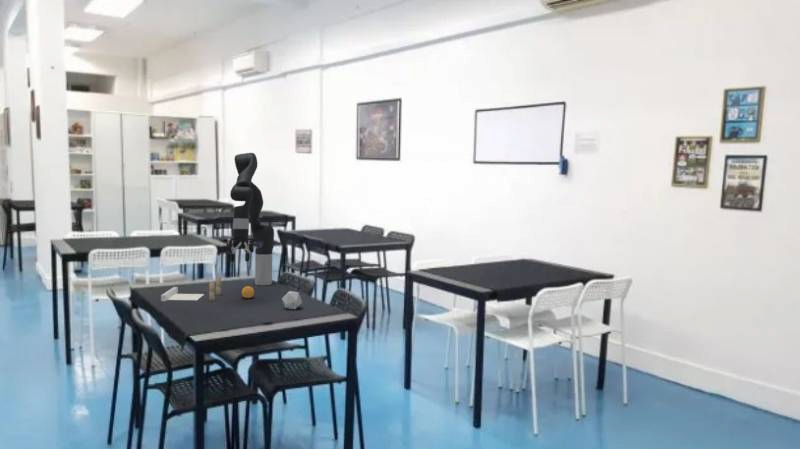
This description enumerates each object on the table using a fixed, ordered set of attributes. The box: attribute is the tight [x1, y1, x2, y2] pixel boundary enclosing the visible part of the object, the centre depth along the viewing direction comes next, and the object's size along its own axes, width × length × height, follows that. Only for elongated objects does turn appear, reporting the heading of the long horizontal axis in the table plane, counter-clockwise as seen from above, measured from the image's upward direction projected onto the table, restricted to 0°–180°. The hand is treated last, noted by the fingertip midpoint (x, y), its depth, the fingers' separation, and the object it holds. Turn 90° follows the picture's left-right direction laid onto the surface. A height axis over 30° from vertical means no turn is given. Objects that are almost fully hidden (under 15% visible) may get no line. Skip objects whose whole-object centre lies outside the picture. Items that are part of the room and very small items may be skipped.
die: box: [281, 290, 303, 311], centre depth 280 cm, size 8×9×10 cm
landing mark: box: [167, 293, 205, 301], centre depth 297 cm, size 14×14×1 cm
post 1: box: [208, 281, 216, 302], centre depth 291 cm, size 2×2×9 cm
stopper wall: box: [160, 286, 179, 302], centre depth 296 cm, size 20×2×3 cm, turn 4°
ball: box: [241, 285, 255, 299], centre depth 299 cm, size 6×6×6 cm
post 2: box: [215, 276, 222, 296], centre depth 304 cm, size 2×2×9 cm
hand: (239, 261), depth 290 cm, fingers open, 8 cm apart
